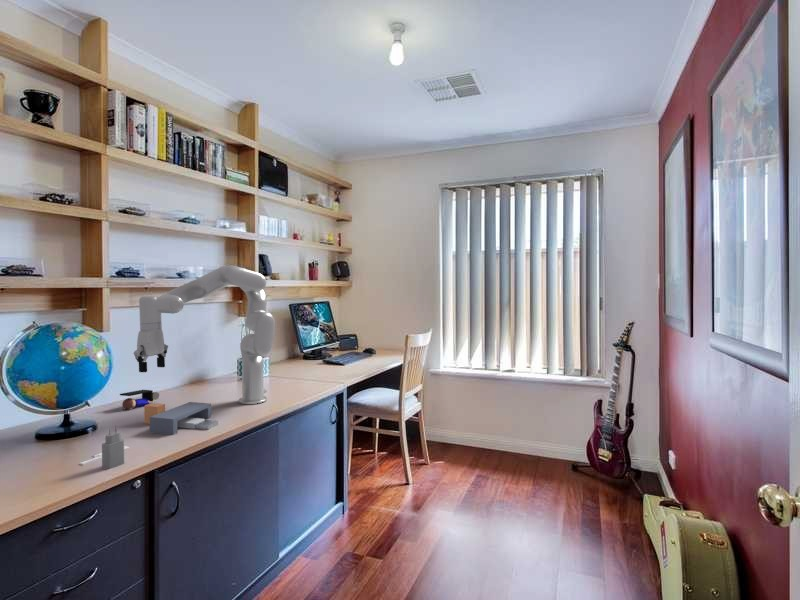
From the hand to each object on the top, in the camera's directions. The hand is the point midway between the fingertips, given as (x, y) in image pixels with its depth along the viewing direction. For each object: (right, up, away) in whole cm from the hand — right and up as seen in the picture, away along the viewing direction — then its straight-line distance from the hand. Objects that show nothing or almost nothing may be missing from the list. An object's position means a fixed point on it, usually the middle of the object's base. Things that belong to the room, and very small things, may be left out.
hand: (152, 369), depth 178 cm
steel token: (+25, -21, -7) cm, 33 cm away
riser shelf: (+14, -21, -4) cm, 25 cm away
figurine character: (-17, -20, +21) cm, 34 cm away
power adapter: (+13, -22, -44) cm, 51 cm away
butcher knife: (+4, -22, -36) cm, 42 cm away
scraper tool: (+10, -21, -4) cm, 24 cm away
